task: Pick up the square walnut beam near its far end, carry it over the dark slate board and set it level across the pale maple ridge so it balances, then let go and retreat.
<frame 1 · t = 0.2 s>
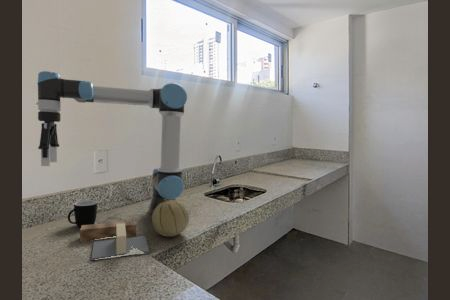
hand: (49, 164, 108), 27 cm above the counter, fingers open, 13 cm apart
beam: (109, 237, 105), on the counter
mug: (82, 227, 115), on the counter
fulcrum: (120, 248, 95), on the counter
cantaloupe: (170, 235, 109), on the counter
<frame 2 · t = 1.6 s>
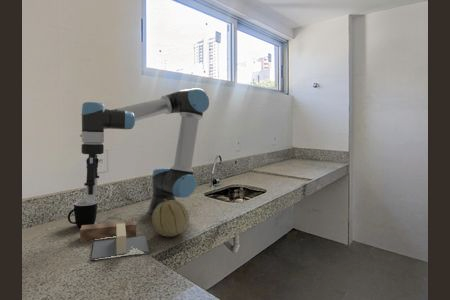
hand: (92, 198, 102), 16 cm above the counter, fingers open, 13 cm apart
nothing on the counter moved.
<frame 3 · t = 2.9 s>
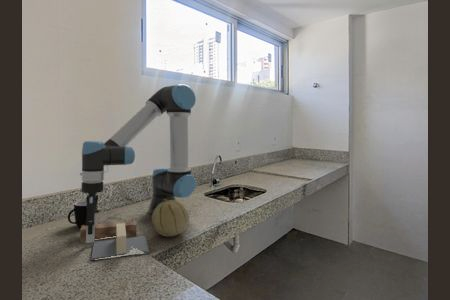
hand: (91, 235, 103), 1 cm above the counter, fingers open, 13 cm apart
nothing on the counter moved.
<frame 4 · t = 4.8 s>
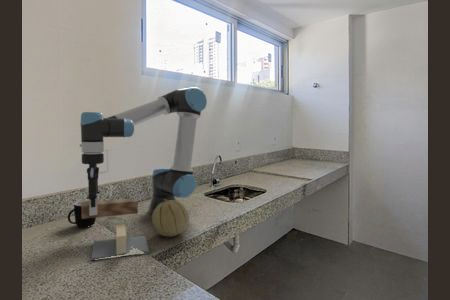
hand: (94, 212, 103), 10 cm above the counter, fingers closed on beam, 5 cm apart
beam: (110, 214, 105), point 9 cm above the counter, touching gripper
everything else where it was.
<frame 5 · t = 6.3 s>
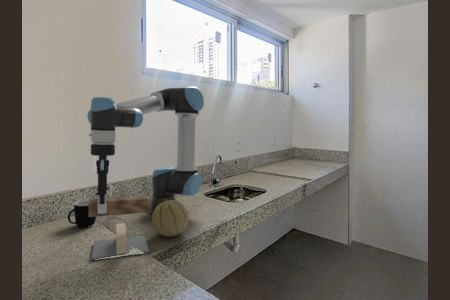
hand: (102, 210, 92), 14 cm above the counter, fingers closed on beam, 5 cm apart
beam: (120, 212, 94), point 13 cm above the counter, touching gripper
everything else where it was.
when the fingers open (7 cm above the counter, at t = 7.9 s): beam stays where it is, resting on fulcrum.
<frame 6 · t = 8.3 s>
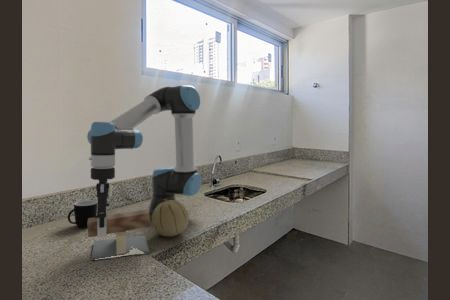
hand: (102, 230, 92), 7 cm above the counter, fingers open, 10 cm apart
beam: (120, 229, 94), point 7 cm above the counter, touching fulcrum
everything else where it was.
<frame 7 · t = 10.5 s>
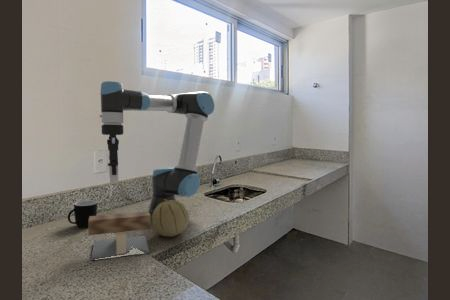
hand: (113, 180, 101), 23 cm above the counter, fingers open, 13 cm apart
nothing on the counter moved.
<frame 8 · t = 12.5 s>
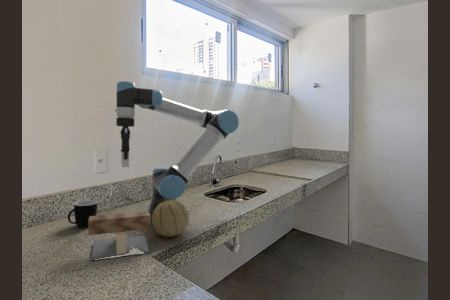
hand: (124, 165, 119), 27 cm above the counter, fingers open, 13 cm apart
nothing on the counter moved.
at the end: beam inside the target area on the fulcrum (0.2 cm from its centre), point 7.0 cm above the fulcrum's base; beam tilted 0°; beam touching fulcrum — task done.
